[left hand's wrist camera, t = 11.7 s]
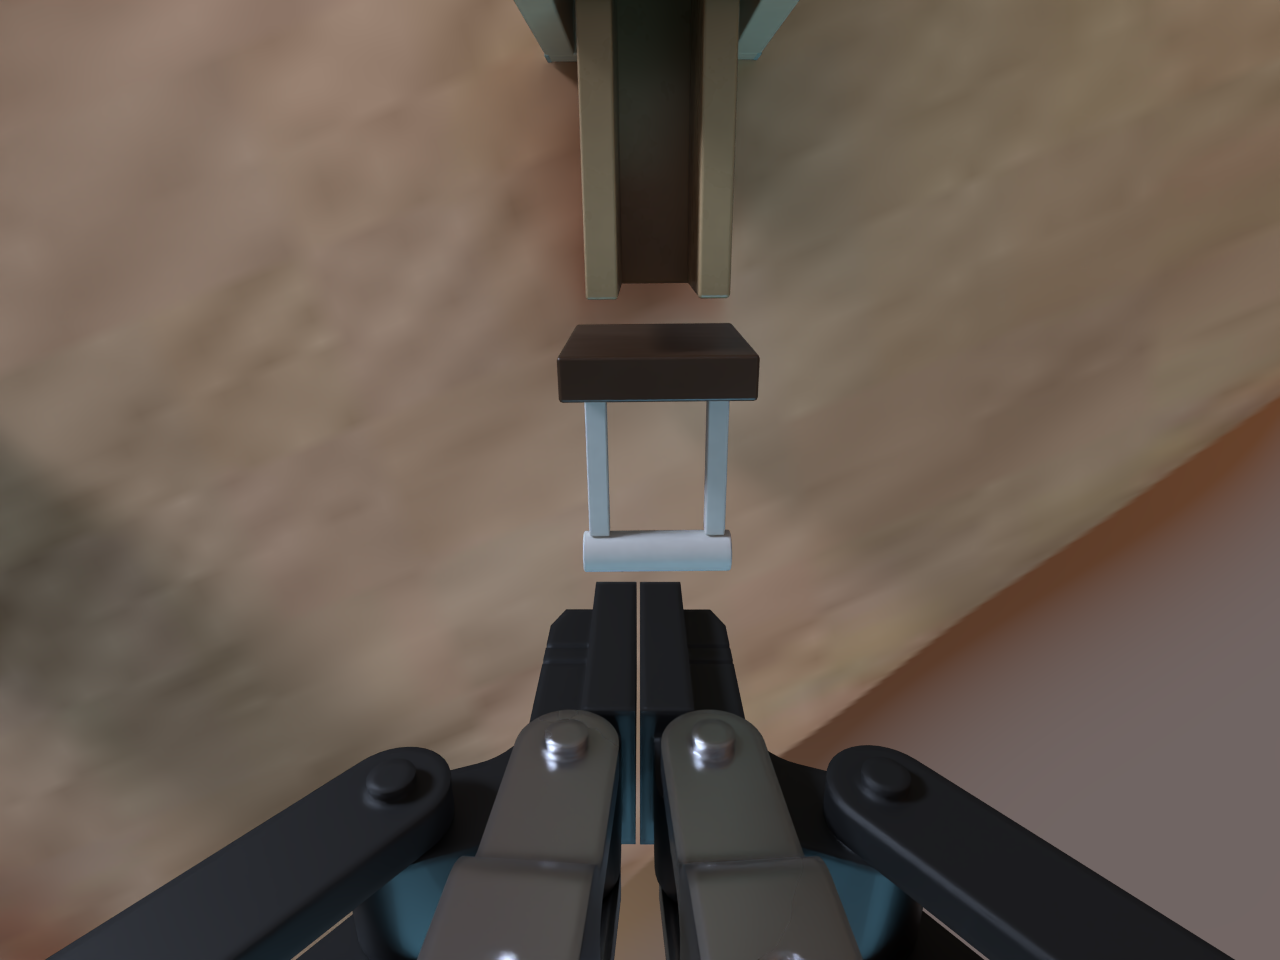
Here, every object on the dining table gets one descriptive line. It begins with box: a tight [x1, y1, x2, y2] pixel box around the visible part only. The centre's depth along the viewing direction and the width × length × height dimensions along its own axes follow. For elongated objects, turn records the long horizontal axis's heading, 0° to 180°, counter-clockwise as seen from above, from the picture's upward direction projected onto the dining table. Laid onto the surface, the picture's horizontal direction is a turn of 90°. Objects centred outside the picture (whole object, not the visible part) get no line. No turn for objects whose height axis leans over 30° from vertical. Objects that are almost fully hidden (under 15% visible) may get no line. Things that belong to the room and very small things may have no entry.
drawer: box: [557, 0, 760, 572], centre depth 19 cm, size 22×5×6 cm, turn 1°
